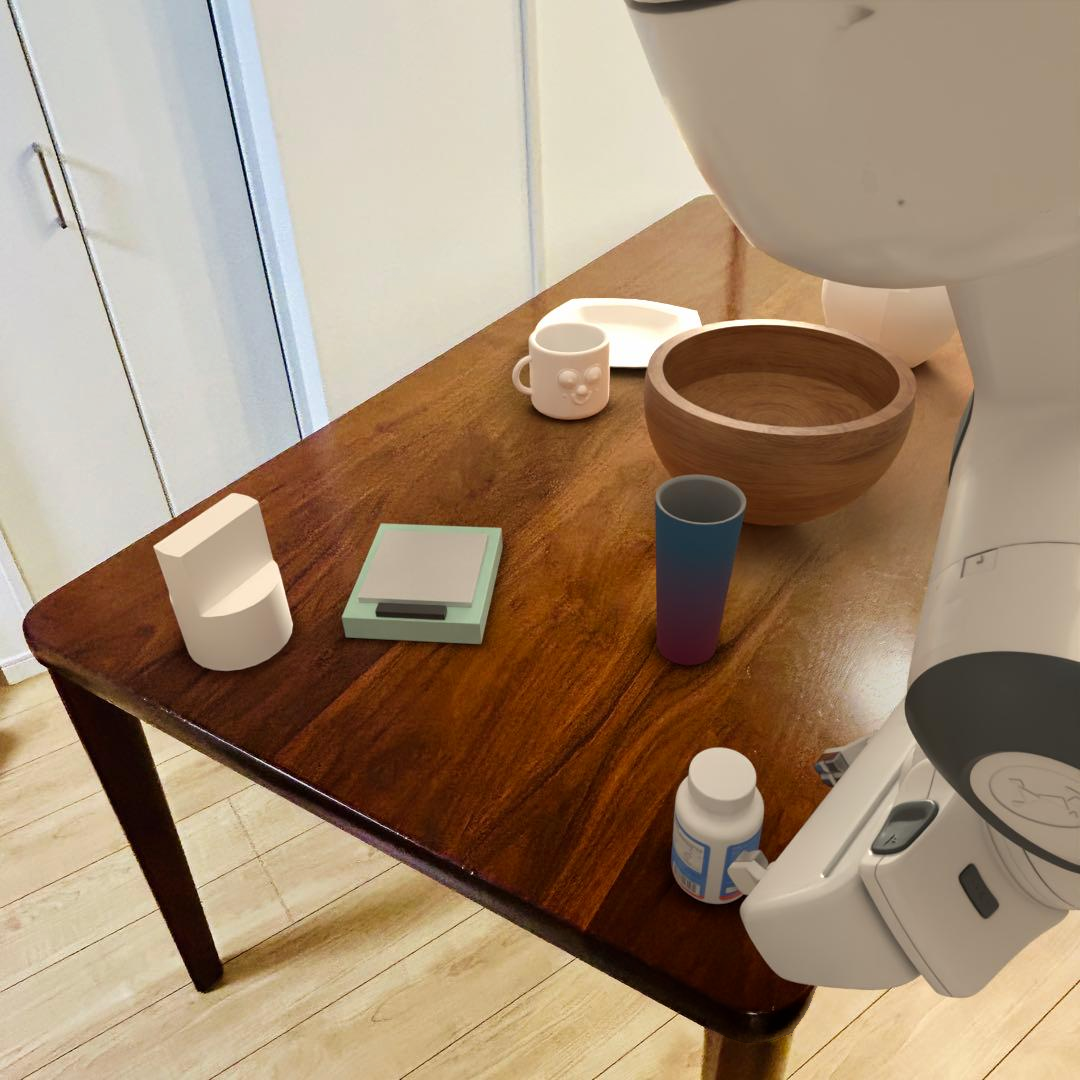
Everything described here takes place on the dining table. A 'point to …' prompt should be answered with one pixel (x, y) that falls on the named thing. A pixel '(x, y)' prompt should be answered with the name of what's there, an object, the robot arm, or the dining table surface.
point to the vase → (893, 317)
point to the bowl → (779, 413)
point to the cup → (694, 562)
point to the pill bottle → (715, 823)
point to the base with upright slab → (226, 586)
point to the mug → (567, 370)
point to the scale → (425, 584)
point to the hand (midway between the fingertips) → (784, 817)
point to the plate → (627, 325)
